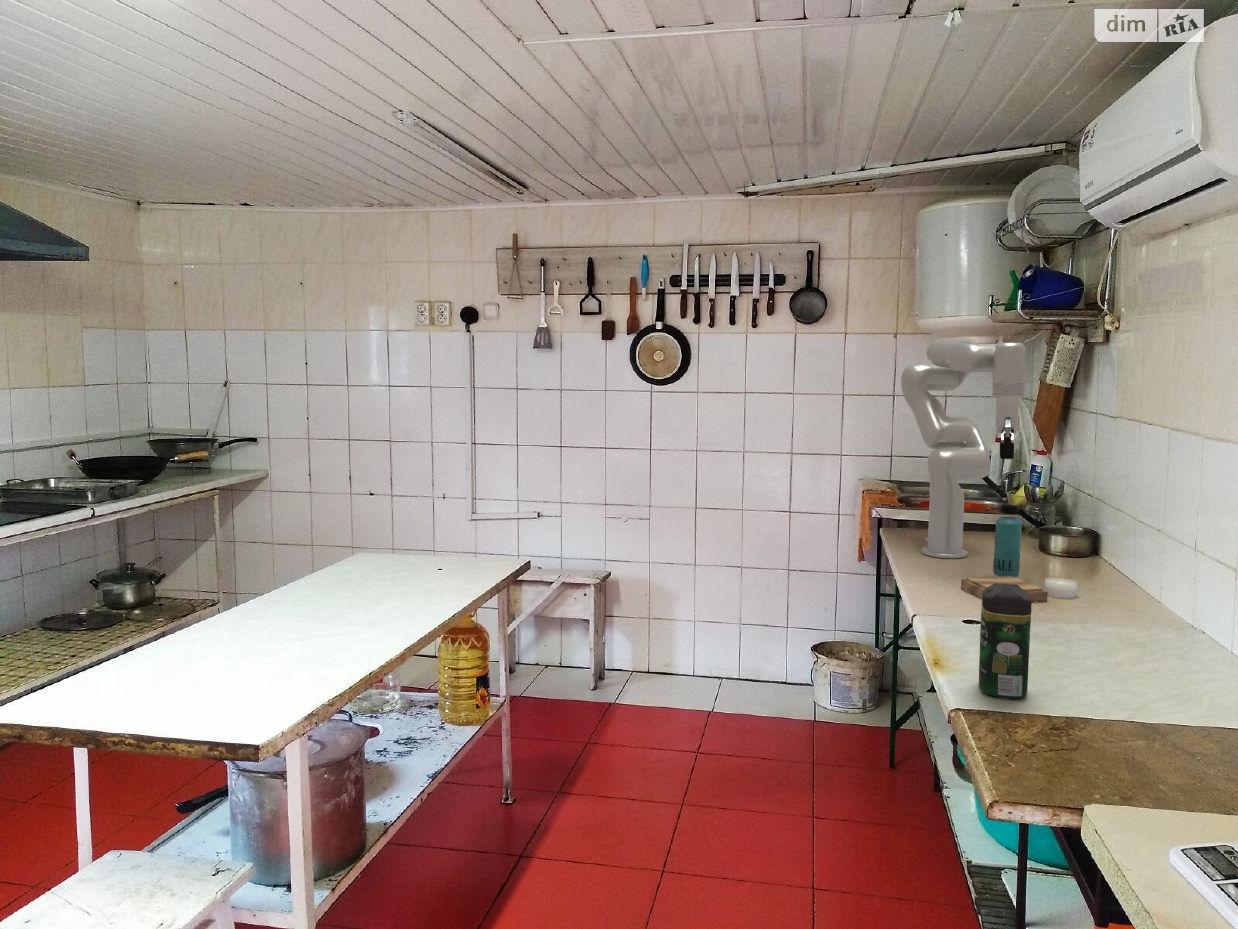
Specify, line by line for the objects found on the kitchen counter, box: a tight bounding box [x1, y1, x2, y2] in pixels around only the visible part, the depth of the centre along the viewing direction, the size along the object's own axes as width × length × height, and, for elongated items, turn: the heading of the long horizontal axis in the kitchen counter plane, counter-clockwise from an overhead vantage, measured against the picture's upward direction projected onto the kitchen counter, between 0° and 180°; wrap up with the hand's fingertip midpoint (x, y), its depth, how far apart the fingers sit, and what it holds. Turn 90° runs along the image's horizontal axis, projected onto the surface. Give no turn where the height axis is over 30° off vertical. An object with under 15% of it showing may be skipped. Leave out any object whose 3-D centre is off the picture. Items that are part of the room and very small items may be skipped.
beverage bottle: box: [992, 503, 1023, 578], centre depth 229 cm, size 6×7×20 cm
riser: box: [960, 576, 1048, 603], centre depth 216 cm, size 14×14×3 cm
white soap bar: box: [1044, 577, 1078, 600], centre depth 216 cm, size 7×7×4 cm
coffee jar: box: [978, 583, 1033, 700], centre depth 153 cm, size 10×8×19 cm
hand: (1006, 457), depth 229 cm, fingers open, 9 cm apart
